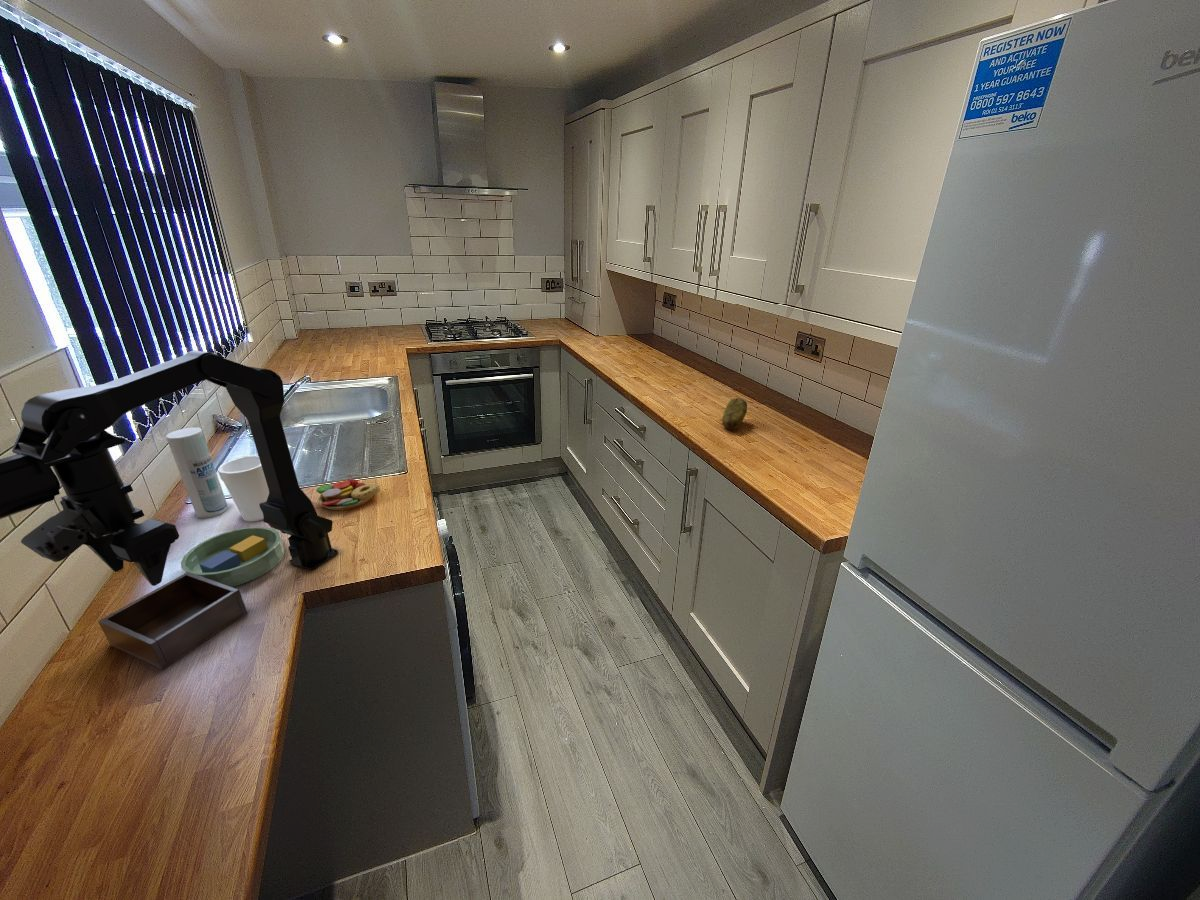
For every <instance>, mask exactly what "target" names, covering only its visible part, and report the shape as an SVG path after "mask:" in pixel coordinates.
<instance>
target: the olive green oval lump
mask: <svg viewBox="0 0 1200 900" xmlns="http://www.w3.org/2000/svg"><path fill="white" fill-rule="evenodd" d="M747 413H748V403H747V401H746V400H744V399H743V398H740V397H738V398H732V399H730V400H729V401H728V402H727V404H726V406H725V409H724V411H723V414H722V417H721V421H722V425H723V427H724V428H725V429H727V430H729V431H733V430H736V429H738V428H739V427H740V425H741V423H743V422H744V419H745V417H746V415H747Z"/></svg>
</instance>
